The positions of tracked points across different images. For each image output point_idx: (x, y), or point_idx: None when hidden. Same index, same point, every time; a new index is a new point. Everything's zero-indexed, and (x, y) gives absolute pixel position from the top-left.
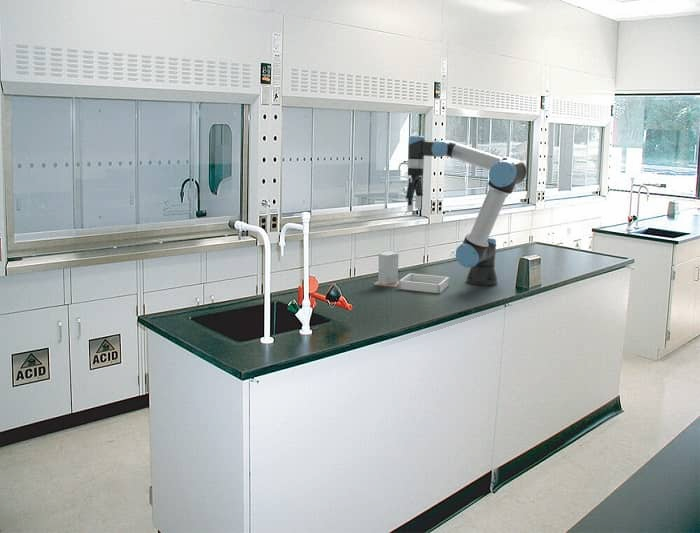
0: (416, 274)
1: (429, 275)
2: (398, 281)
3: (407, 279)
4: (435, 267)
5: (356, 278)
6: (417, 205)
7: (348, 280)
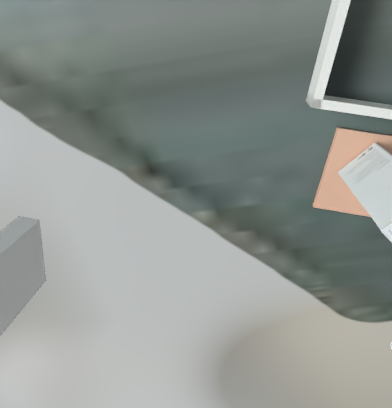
0: (329, 74)
1: (347, 3)
2: (346, 142)
3: (378, 105)
4: (11, 31)
5: (303, 279)
6: (15, 283)
7: (337, 296)
